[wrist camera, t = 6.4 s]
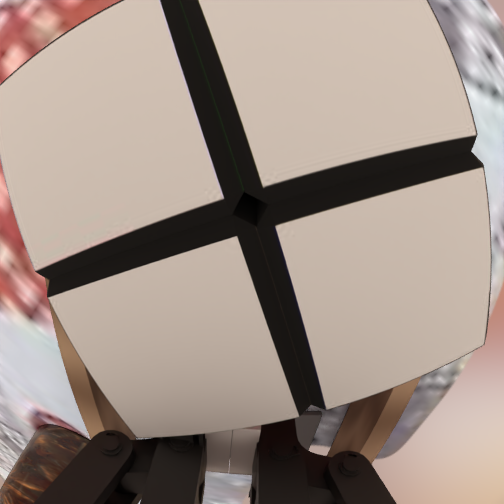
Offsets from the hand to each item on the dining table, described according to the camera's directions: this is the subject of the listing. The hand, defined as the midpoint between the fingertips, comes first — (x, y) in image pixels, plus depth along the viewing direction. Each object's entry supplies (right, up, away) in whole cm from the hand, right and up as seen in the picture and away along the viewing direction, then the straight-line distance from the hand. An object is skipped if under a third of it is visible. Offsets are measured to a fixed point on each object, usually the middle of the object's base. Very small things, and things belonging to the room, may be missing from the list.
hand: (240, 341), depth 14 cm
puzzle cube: (+1, +8, +1) cm, 8 cm away
